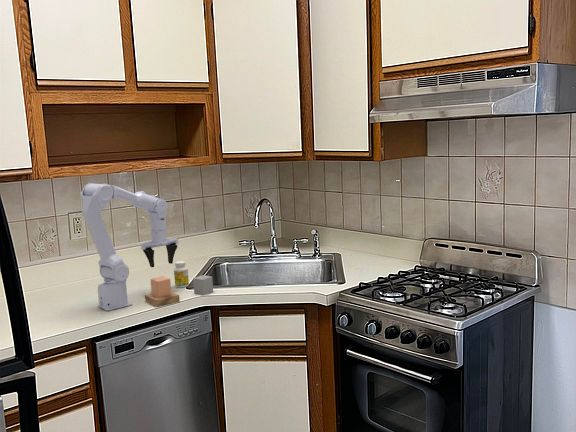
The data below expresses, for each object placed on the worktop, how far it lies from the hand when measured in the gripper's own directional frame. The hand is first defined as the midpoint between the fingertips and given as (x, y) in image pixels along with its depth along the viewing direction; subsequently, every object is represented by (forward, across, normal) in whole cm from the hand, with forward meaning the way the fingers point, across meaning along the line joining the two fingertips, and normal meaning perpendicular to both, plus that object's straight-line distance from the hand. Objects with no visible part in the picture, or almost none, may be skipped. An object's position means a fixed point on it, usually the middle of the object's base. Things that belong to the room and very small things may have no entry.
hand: (161, 265), depth 220 cm
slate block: (+10, +10, -13) cm, 19 cm away
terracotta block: (+8, -7, -12) cm, 16 cm away
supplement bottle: (+11, +9, +2) cm, 14 cm away
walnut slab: (+11, -6, -12) cm, 17 cm away
